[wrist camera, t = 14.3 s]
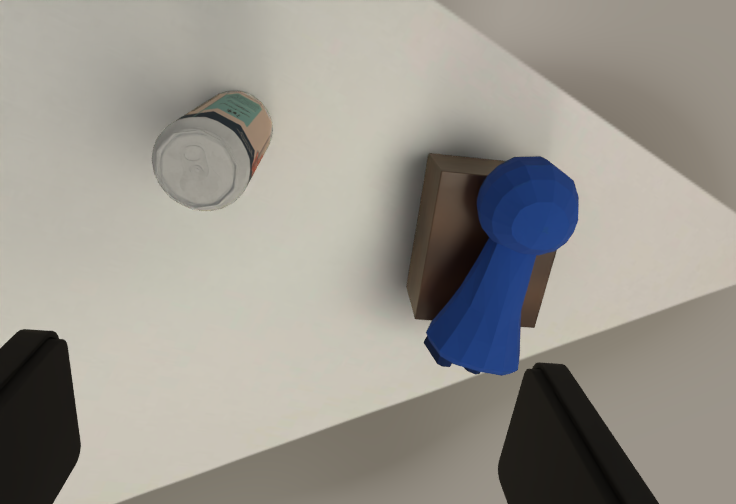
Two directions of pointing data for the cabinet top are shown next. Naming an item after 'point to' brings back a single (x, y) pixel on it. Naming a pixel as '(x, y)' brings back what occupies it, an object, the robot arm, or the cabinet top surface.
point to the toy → (504, 265)
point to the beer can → (212, 151)
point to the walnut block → (457, 238)
